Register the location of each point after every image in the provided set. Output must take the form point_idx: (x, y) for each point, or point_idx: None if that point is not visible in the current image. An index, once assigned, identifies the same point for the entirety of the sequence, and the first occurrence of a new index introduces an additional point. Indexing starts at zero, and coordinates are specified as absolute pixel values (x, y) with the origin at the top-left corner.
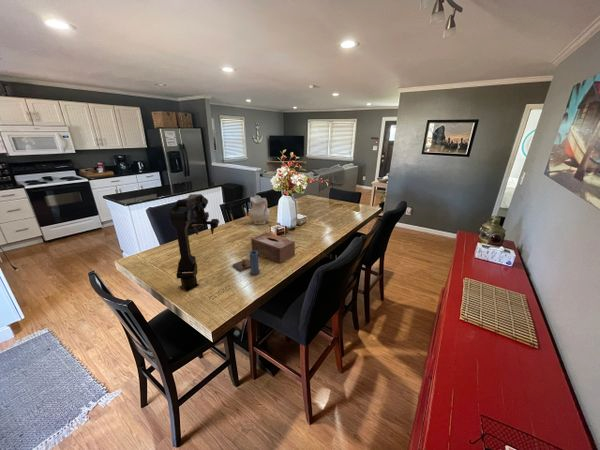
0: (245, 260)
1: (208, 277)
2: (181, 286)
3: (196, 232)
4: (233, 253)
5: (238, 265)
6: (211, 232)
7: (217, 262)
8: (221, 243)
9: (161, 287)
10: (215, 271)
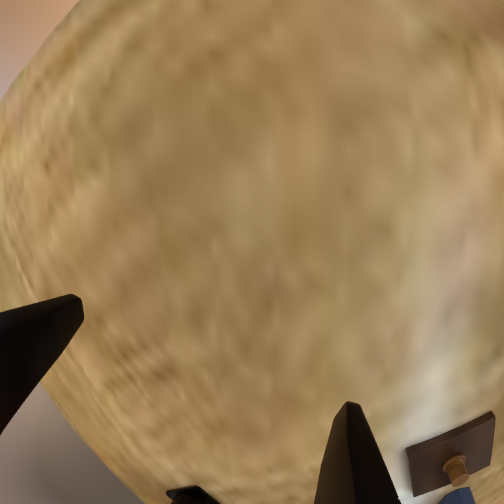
0: (480, 432)
1: (267, 491)
2: (170, 496)
3: (43, 373)
4: (466, 288)
5: (426, 469)
6: (318, 491)
7: (333, 390)
8: (384, 44)
9: (106, 457)
10: (305, 468)
